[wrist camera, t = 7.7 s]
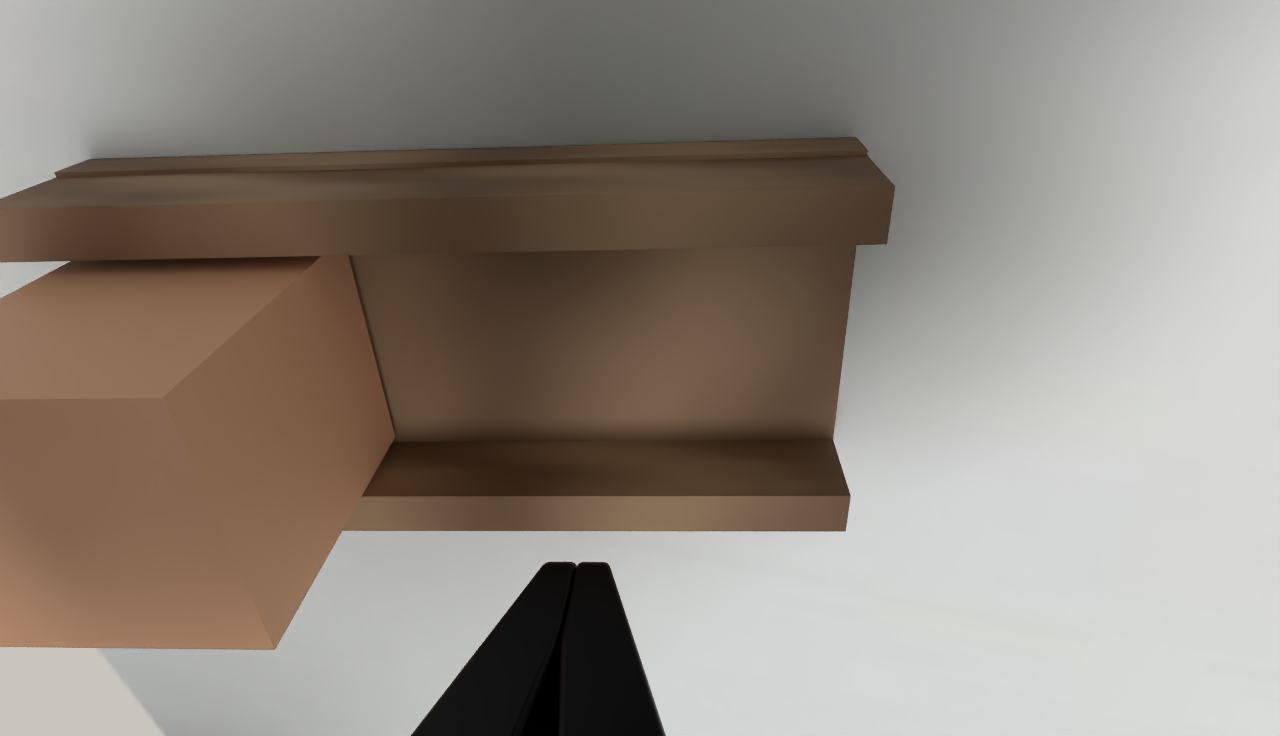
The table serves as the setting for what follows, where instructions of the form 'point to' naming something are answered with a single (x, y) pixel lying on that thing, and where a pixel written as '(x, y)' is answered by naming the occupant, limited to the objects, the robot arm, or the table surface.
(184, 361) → the block
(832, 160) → the chute
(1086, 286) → the table surface
